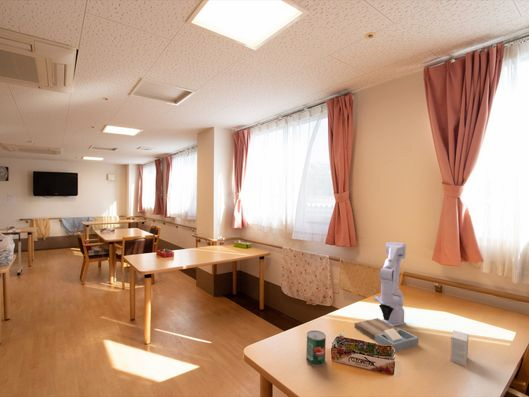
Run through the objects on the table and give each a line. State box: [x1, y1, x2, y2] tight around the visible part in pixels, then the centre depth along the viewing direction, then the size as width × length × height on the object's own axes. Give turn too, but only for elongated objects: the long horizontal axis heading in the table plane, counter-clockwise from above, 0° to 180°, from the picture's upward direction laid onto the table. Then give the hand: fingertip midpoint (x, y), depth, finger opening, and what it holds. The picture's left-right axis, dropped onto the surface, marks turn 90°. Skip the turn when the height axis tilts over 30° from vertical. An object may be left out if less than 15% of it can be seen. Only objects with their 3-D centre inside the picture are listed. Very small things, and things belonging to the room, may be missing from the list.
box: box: [374, 328, 419, 353], centre depth 136 cm, size 16×11×4 cm
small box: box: [450, 330, 469, 367], centre depth 123 cm, size 8×6×10 cm
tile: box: [383, 328, 402, 343], centre depth 138 cm, size 6×6×2 cm
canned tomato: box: [305, 330, 327, 367], centre depth 120 cm, size 8×8×11 cm
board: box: [354, 318, 400, 341], centre depth 148 cm, size 16×14×2 cm
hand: (386, 319), depth 142 cm, fingers closed
